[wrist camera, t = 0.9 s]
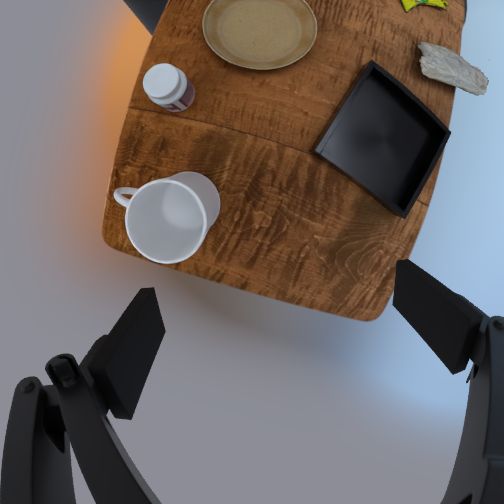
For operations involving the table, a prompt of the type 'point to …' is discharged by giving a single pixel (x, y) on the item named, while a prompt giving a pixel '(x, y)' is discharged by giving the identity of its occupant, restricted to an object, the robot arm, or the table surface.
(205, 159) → the table surface
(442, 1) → the toy
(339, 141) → the black square tray
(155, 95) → the pill bottle
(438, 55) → the stone fragment
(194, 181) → the mug
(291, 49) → the plant saucer
